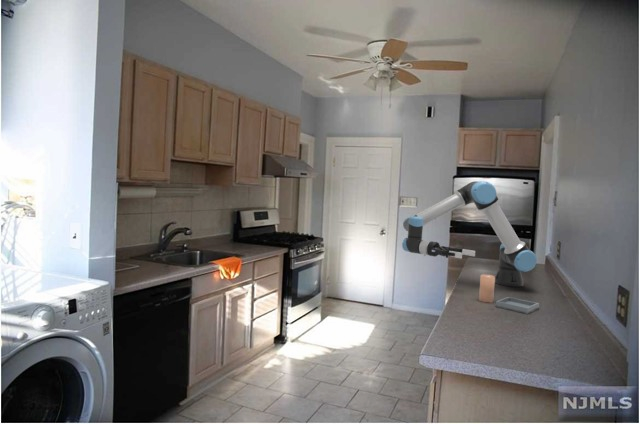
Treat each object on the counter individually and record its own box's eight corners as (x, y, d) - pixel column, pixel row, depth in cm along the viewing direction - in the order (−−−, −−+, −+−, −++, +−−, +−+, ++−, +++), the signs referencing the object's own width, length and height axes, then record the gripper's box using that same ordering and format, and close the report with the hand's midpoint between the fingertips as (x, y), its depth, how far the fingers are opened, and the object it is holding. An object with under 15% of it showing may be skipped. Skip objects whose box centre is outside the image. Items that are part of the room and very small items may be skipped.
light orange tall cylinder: (482, 298, 215) (484, 273, 214) (495, 301, 211) (497, 276, 210) (476, 300, 210) (478, 275, 210) (489, 303, 206) (491, 277, 205)
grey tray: (507, 301, 210) (508, 296, 210) (538, 308, 200) (539, 303, 200) (495, 306, 200) (495, 301, 200) (527, 314, 191) (527, 308, 190)
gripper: (441, 253, 240) (479, 260, 225) (416, 257, 223) (455, 264, 208) (442, 240, 240) (480, 245, 225) (417, 242, 222) (456, 248, 207)
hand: (468, 254), depth 216 cm, fingers open, 13 cm apart
